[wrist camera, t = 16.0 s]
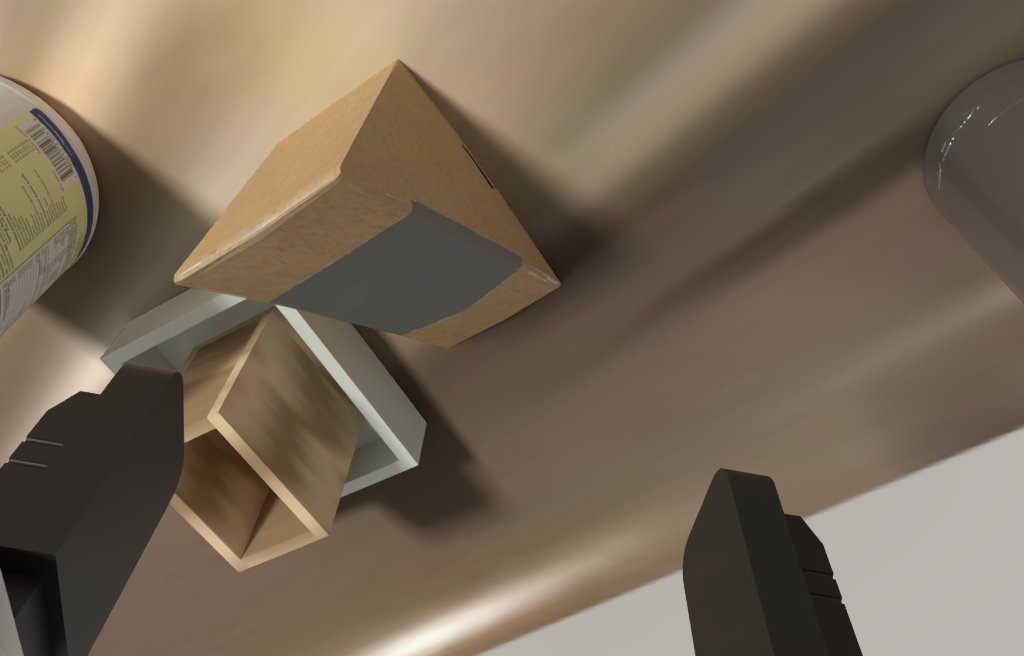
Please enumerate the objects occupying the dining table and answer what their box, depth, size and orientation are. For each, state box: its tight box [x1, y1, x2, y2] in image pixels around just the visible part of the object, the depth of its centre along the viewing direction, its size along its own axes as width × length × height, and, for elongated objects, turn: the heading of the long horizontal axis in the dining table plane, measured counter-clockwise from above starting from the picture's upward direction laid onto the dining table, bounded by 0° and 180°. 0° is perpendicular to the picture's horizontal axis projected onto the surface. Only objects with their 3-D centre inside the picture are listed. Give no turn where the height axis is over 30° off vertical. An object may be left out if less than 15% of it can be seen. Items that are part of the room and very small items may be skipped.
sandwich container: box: [174, 59, 561, 348], centre depth 41 cm, size 9×15×15 cm, turn 34°
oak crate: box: [170, 306, 364, 572], centre depth 48 cm, size 9×6×10 cm, turn 29°
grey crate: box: [100, 288, 427, 498], centre depth 51 cm, size 15×12×4 cm
